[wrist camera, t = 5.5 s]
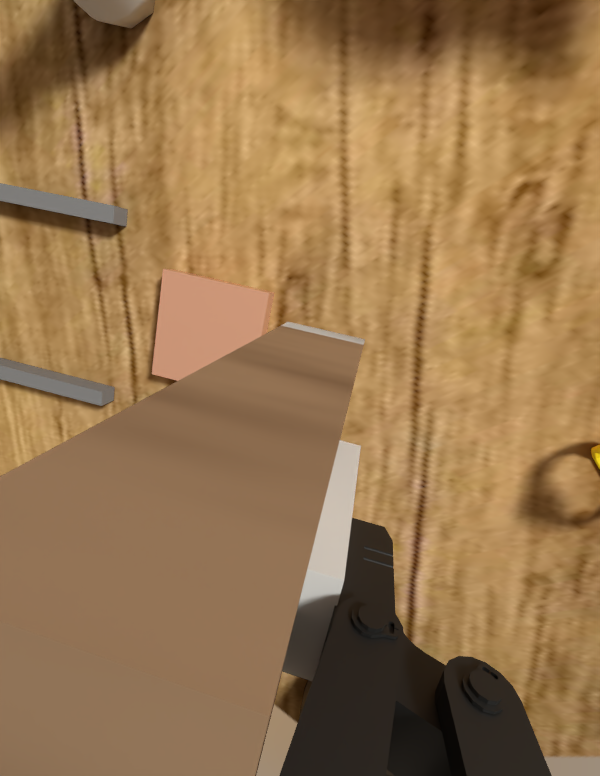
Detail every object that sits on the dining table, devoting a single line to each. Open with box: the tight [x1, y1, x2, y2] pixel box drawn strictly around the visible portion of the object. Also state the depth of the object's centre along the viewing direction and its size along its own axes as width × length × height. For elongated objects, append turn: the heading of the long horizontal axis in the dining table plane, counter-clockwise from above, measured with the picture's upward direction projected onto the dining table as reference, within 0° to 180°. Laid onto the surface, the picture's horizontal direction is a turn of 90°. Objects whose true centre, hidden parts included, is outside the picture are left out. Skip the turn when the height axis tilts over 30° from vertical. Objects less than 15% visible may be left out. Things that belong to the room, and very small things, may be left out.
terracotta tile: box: [152, 269, 274, 381], centre depth 32 cm, size 8×8×2 cm
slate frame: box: [0, 183, 127, 406], centre depth 33 cm, size 15×13×2 cm
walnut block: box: [0, 322, 365, 776], centre depth 11 cm, size 9×3×14 cm, turn 168°
